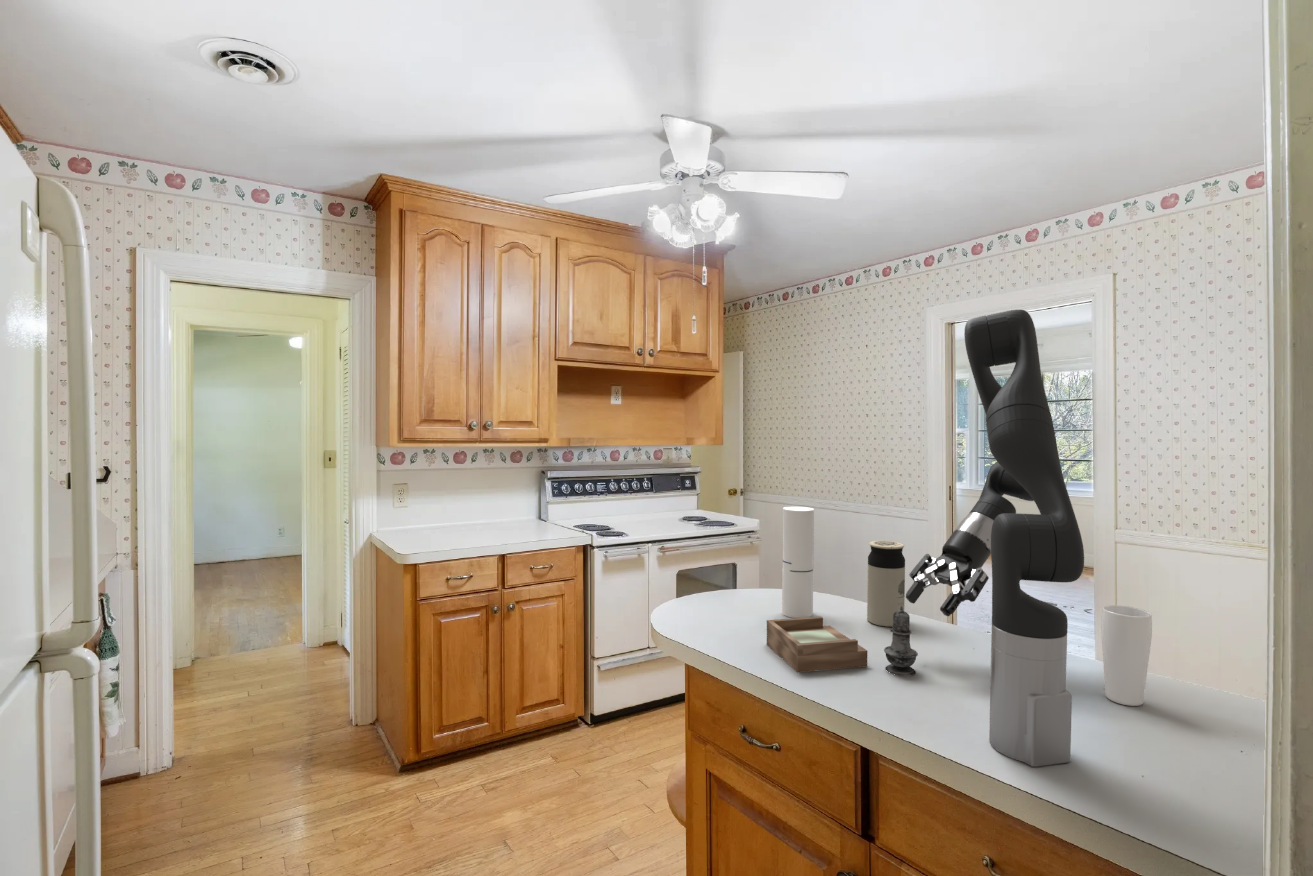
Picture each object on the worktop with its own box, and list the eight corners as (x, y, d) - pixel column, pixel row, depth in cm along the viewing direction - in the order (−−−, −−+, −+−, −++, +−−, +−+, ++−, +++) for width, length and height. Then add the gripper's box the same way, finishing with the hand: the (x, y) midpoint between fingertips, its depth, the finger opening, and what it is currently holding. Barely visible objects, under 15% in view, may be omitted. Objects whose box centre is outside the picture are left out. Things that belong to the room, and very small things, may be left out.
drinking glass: (1146, 697, 109) (1149, 608, 108) (1152, 713, 103) (1155, 619, 103) (1097, 688, 112) (1100, 602, 112) (1100, 703, 107) (1103, 612, 106)
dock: (867, 666, 122) (867, 640, 122) (797, 672, 119) (798, 645, 119) (829, 639, 137) (829, 615, 136) (766, 644, 134) (766, 620, 133)
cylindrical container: (794, 607, 159) (795, 505, 158) (819, 614, 154) (820, 509, 153) (775, 612, 155) (776, 508, 154) (799, 620, 149) (801, 511, 148)
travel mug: (859, 620, 149) (860, 542, 148) (880, 614, 154) (881, 538, 153) (890, 630, 143) (891, 548, 142) (911, 623, 147) (912, 544, 147)
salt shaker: (920, 678, 117) (921, 612, 116) (886, 675, 118) (887, 609, 117) (914, 665, 122) (915, 602, 122) (881, 663, 124) (882, 600, 123)
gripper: (934, 523, 131) (888, 584, 127) (994, 535, 118) (945, 604, 114) (953, 547, 133) (908, 608, 130) (1015, 561, 120) (967, 630, 116)
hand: (926, 606), depth 122 cm, fingers open, 8 cm apart
